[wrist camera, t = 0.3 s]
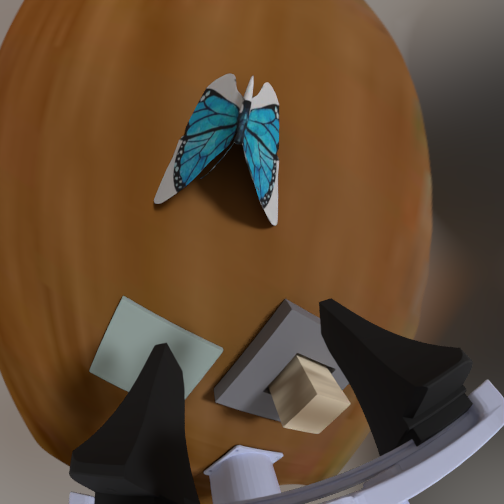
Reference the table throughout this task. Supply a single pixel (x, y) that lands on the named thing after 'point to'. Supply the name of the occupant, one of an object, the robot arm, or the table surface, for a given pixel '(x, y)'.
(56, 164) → the table surface
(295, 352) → the pocket holder
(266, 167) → the decorative butterfly
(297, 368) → the maple block
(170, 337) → the rubber mat
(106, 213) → the table surface
